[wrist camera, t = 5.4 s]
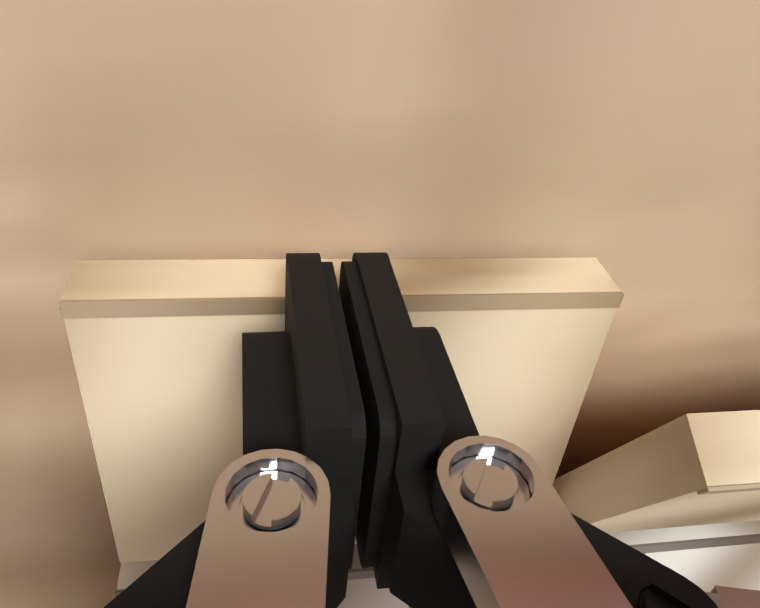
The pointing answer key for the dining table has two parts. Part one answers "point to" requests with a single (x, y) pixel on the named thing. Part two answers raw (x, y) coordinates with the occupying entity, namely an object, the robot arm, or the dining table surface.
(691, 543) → the floor rows
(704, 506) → the plank
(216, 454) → the plank
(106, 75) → the dining table surface
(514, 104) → the dining table surface
